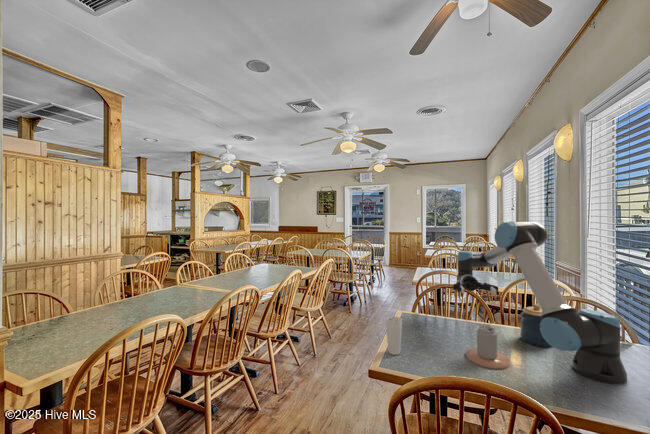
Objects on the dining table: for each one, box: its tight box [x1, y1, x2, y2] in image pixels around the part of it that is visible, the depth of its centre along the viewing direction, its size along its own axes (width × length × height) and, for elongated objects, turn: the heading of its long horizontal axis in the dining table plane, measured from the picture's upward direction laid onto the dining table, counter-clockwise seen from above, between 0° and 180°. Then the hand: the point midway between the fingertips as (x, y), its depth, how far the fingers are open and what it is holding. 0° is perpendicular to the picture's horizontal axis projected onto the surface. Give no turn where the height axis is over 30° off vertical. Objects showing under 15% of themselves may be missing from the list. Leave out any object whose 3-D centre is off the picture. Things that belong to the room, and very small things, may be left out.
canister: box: [519, 303, 552, 348], centre depth 138 cm, size 13×13×18 cm
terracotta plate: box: [465, 347, 511, 370], centre depth 122 cm, size 16×16×1 cm
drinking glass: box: [385, 315, 403, 356], centre depth 129 cm, size 7×7×15 cm
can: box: [476, 325, 498, 360], centre depth 123 cm, size 8×8×12 cm
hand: (479, 292), depth 137 cm, fingers open, 13 cm apart
